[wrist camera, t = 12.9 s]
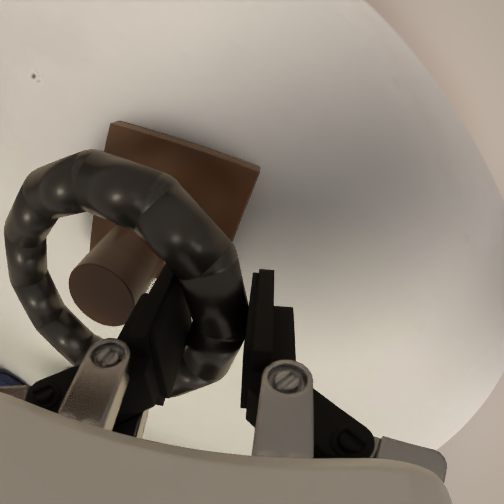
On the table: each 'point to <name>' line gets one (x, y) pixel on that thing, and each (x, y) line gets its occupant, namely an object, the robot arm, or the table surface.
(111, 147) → the stand
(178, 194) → the ring
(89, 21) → the table surface
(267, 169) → the table surface
